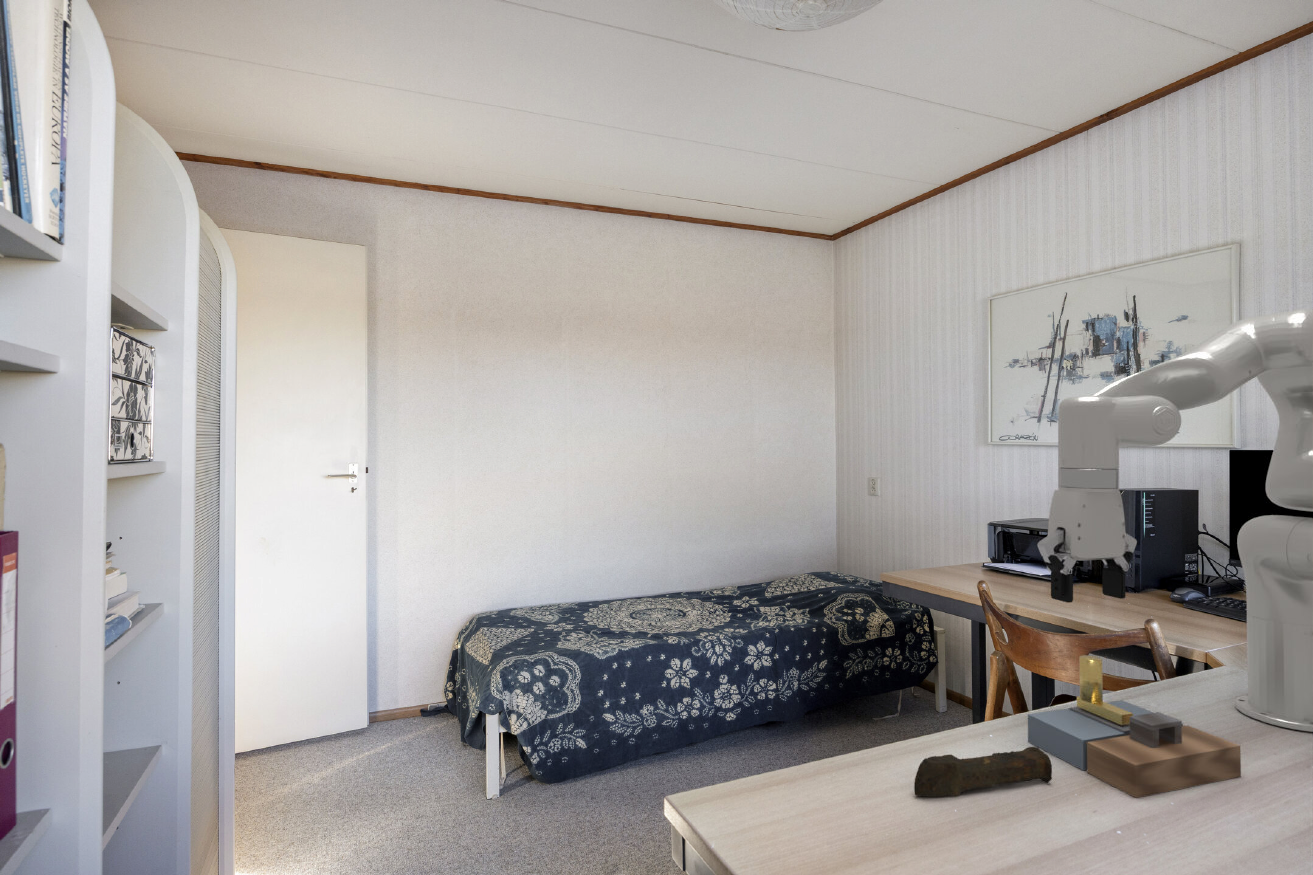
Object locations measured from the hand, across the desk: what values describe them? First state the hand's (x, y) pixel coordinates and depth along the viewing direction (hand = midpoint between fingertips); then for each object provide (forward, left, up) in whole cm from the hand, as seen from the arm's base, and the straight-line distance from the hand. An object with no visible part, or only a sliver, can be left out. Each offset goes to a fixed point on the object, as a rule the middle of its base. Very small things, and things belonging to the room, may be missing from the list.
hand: (1088, 598), depth 98 cm
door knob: (0, +2, -16) cm, 16 cm away
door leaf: (0, +2, -21) cm, 21 cm away
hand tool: (+25, +6, -21) cm, 33 cm away
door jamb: (0, +10, -21) cm, 23 cm away
